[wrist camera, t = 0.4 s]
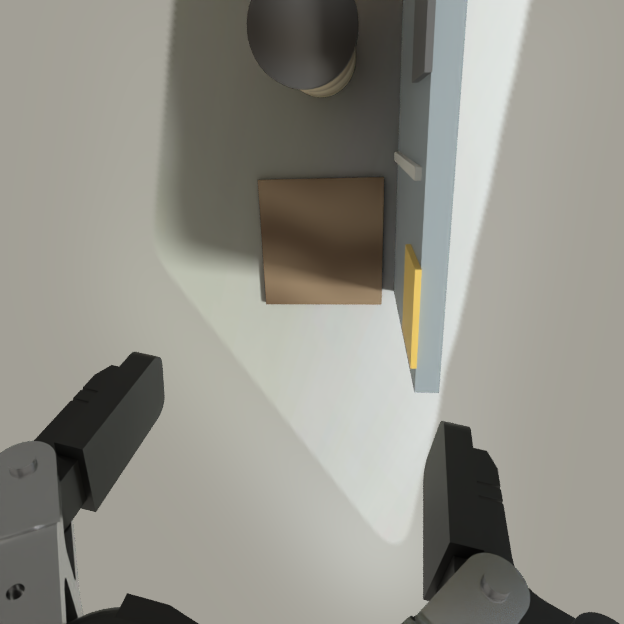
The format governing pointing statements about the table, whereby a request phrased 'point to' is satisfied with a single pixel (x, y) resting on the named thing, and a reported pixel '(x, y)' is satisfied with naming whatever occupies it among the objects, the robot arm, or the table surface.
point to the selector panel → (426, 177)
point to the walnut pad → (322, 240)
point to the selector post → (305, 42)
